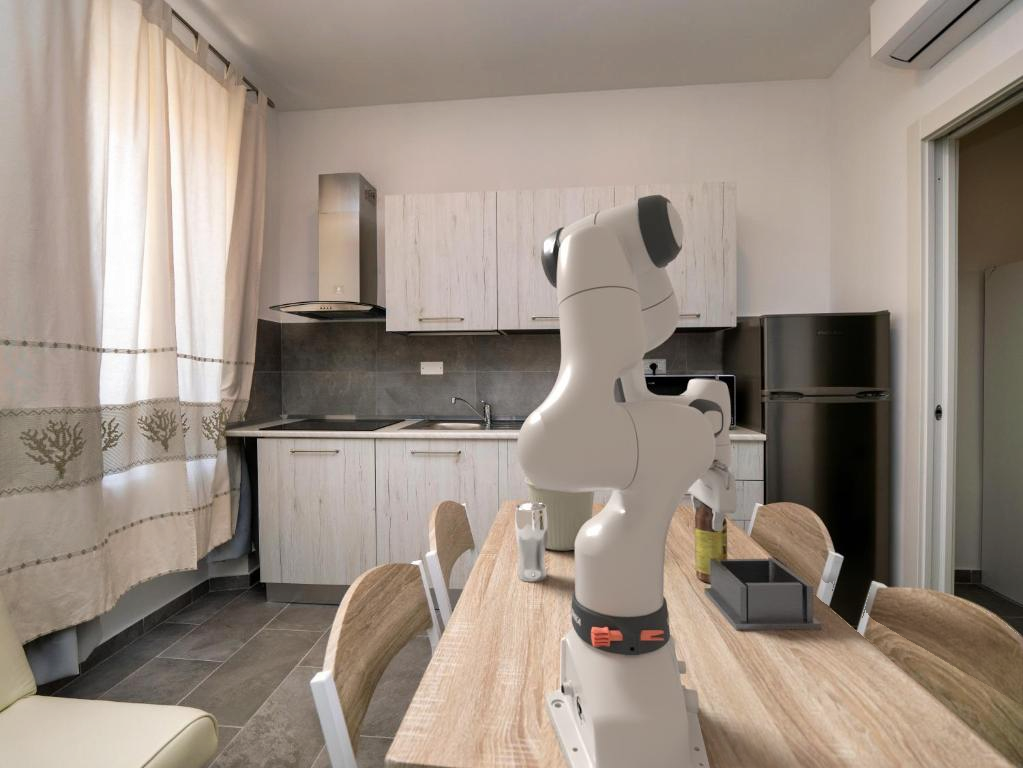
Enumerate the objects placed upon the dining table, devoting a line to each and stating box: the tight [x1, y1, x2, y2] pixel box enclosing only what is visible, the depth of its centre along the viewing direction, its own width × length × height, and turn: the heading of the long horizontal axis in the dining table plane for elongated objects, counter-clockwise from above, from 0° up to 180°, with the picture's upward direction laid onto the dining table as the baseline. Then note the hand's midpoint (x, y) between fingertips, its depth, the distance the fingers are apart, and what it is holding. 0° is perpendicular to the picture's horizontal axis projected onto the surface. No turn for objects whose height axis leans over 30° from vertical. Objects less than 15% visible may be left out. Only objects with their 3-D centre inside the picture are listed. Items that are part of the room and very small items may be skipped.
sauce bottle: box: [694, 501, 729, 584], centre depth 104 cm, size 6×6×20 cm
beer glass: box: [514, 501, 548, 583], centre depth 106 cm, size 7×7×15 cm
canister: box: [524, 477, 595, 552], centre depth 126 cm, size 18×18×21 cm
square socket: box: [703, 557, 822, 631], centre depth 90 cm, size 14×14×7 cm
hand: (707, 522), depth 105 cm, fingers open, 8 cm apart
